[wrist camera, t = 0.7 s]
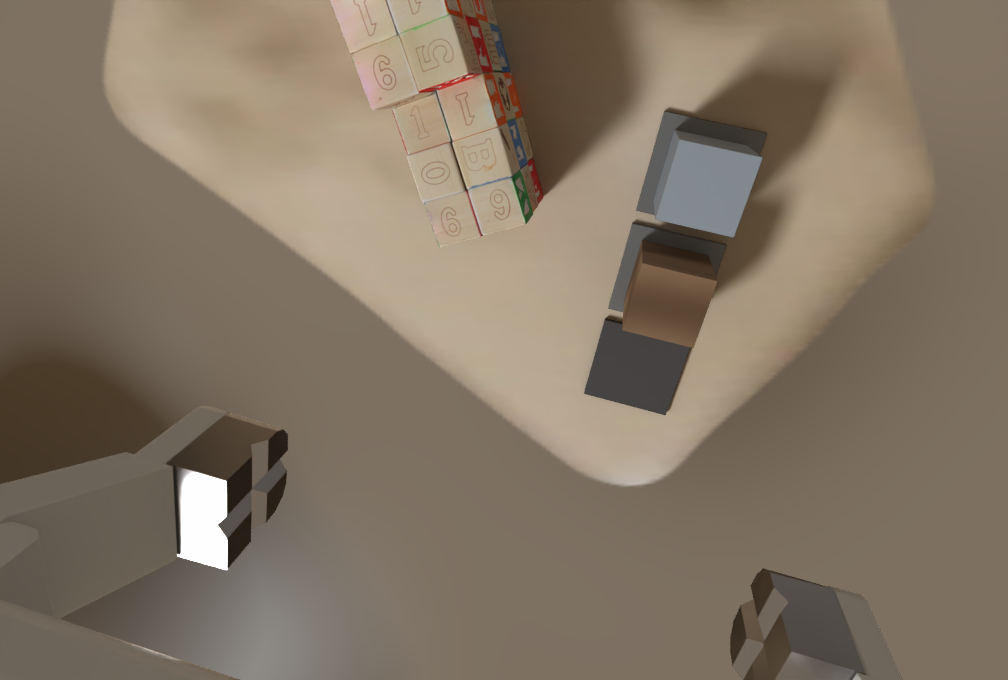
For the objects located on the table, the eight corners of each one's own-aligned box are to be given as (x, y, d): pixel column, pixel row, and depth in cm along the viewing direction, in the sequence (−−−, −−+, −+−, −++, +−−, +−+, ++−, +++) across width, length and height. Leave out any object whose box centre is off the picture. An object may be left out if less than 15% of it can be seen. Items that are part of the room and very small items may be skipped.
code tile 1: (632, 222, 46) (632, 223, 45) (725, 244, 45) (726, 245, 45) (608, 307, 49) (608, 308, 48) (695, 328, 48) (695, 330, 48)
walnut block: (642, 239, 46) (642, 263, 40) (708, 255, 45) (717, 281, 40) (624, 300, 48) (622, 330, 43) (687, 315, 47) (693, 348, 42)
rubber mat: (605, 318, 49) (605, 320, 49) (691, 340, 48) (692, 342, 48) (584, 391, 52) (584, 393, 52) (665, 412, 52) (665, 415, 51)
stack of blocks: (547, 197, 46) (518, 239, 35) (471, 217, 48) (421, 263, 37) (459, -129, 39) (389, -204, 28) (374, -90, 41) (276, -146, 30)
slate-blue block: (674, 129, 42) (679, 139, 37) (746, 145, 42) (762, 157, 36) (653, 200, 44) (655, 219, 39) (722, 216, 44) (733, 237, 39)
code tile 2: (664, 111, 42) (664, 111, 42) (766, 133, 41) (767, 133, 41) (636, 209, 45) (636, 210, 45) (730, 231, 44) (731, 232, 44)
